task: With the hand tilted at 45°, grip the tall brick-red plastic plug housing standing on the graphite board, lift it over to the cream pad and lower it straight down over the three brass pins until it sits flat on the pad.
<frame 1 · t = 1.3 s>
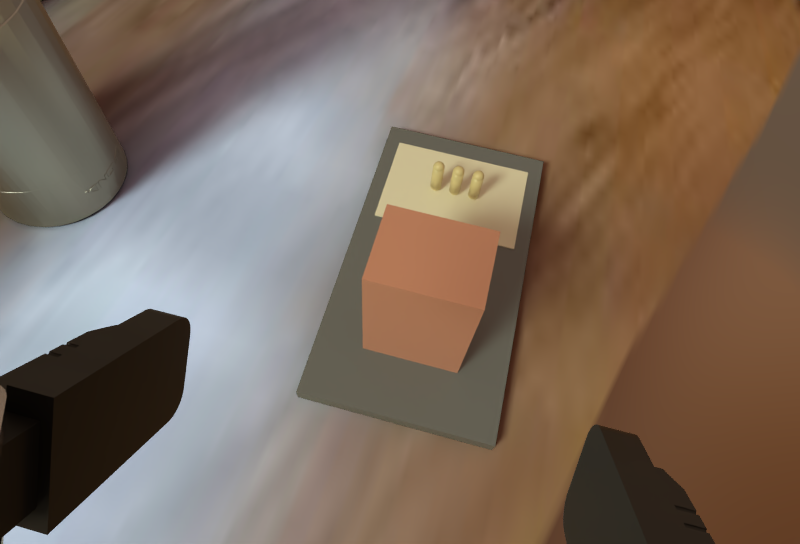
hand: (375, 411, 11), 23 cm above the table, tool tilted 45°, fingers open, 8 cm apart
pin board: (434, 269, 39), on the table
plug housing: (418, 327, 35), point 1 cm above the table, touching pin board
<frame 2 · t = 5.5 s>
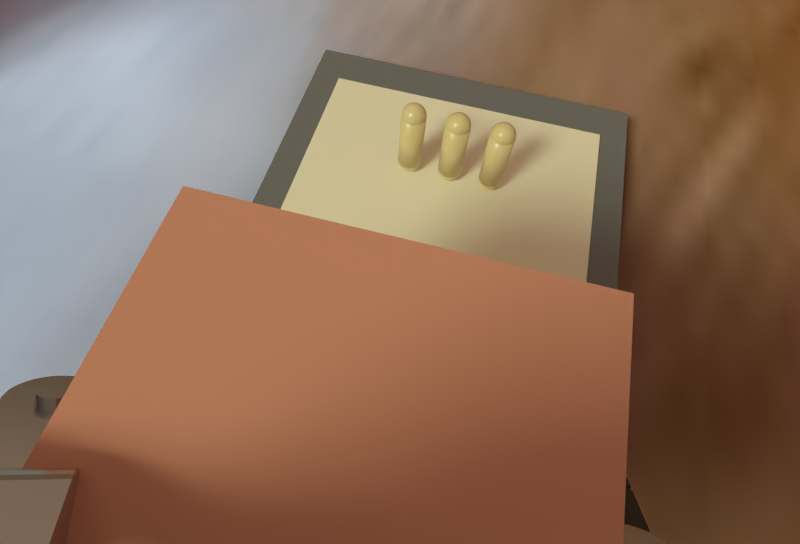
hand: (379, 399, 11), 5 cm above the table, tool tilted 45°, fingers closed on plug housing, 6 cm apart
pin board: (404, 345, 17), on the table
plug housing: (359, 510, 14), point 1 cm above the table, touching gripper, pin board
when the fingers open (5 cm above the table, at t = 12.4 s): plug housing stays where it is, resting on pin board.
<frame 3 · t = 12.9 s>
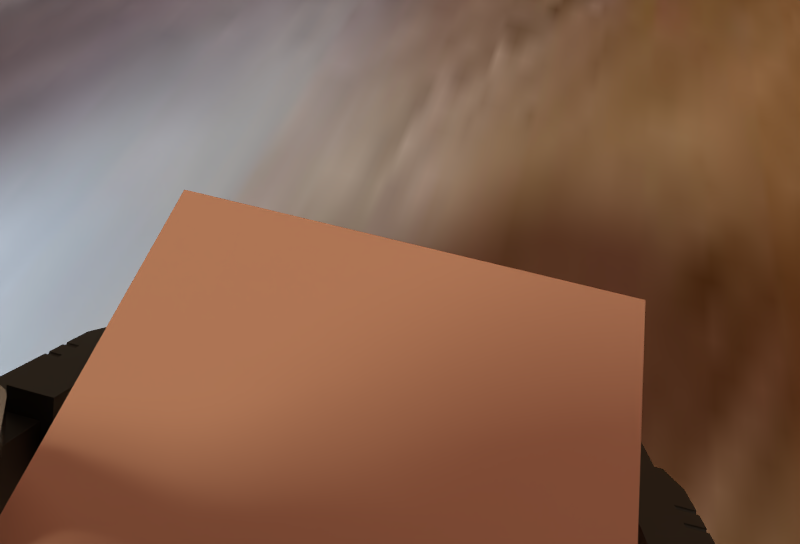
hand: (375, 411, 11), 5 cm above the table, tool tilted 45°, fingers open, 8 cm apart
plug housing: (362, 516, 14), point 1 cm above the table, touching pin board
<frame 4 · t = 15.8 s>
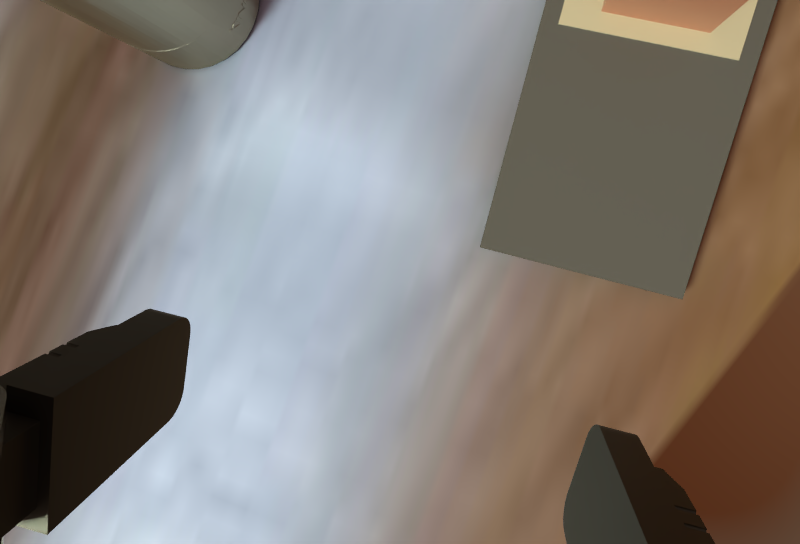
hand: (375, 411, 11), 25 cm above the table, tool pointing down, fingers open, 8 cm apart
pin board: (628, 90, 33), on the table
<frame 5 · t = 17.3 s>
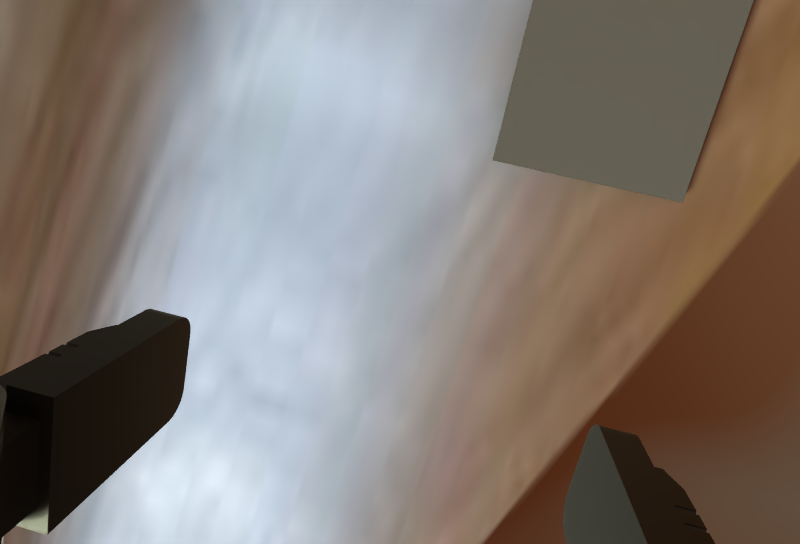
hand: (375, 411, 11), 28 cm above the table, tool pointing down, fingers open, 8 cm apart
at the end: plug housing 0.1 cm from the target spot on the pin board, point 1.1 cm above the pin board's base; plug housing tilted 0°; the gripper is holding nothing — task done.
